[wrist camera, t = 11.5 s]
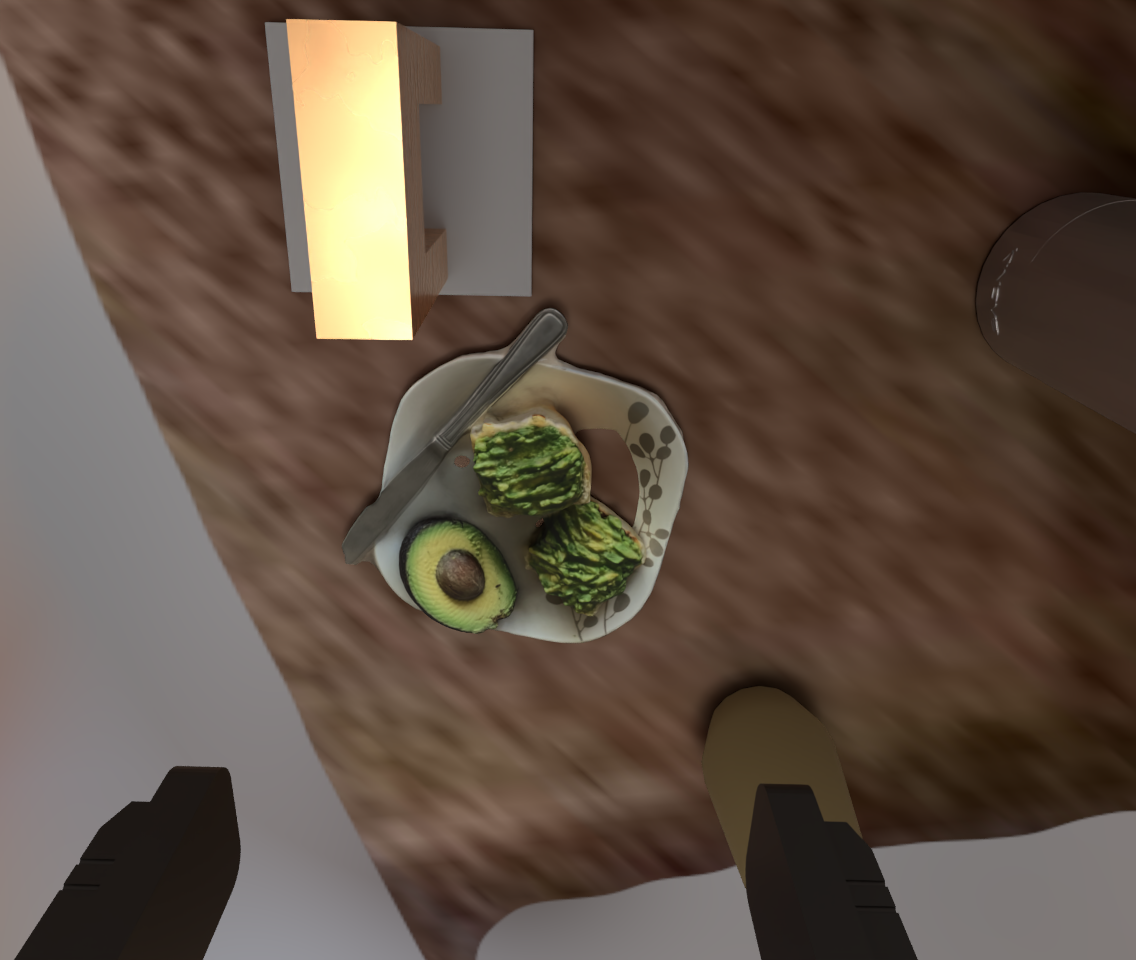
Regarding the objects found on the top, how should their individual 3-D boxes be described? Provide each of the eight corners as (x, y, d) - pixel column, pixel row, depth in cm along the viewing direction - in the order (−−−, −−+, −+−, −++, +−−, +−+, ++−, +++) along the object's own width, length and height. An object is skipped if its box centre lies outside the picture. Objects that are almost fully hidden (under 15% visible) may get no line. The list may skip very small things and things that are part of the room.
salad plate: (401, 260, 44) (385, 277, 40) (732, 349, 46) (750, 374, 42) (338, 582, 51) (319, 625, 47) (626, 646, 54) (633, 692, 49)
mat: (533, 31, 40) (533, 29, 39) (531, 294, 44) (531, 296, 44) (268, 23, 39) (264, 22, 39) (295, 289, 44) (291, 291, 44)
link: (439, 46, 39) (395, 21, 28) (447, 278, 43) (412, 339, 32) (362, 44, 39) (286, 19, 28) (377, 277, 43) (317, 338, 32)
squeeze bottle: (695, 669, 54) (761, 918, 37) (825, 668, 54) (947, 915, 38) (688, 772, 57) (745, 1043, 41) (810, 770, 57) (917, 1039, 41)
